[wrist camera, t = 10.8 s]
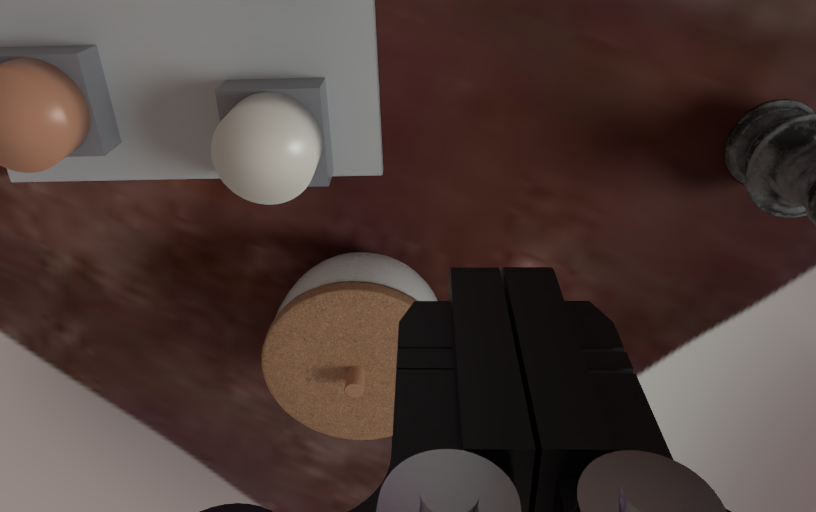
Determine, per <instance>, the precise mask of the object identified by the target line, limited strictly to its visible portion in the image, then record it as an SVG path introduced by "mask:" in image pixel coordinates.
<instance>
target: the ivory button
mask: <svg viewBox="0 0 816 512" xmlns="http://www.w3.org/2000/svg"><path fill="white" fill-rule="evenodd" d="M321 153H322V136H321V131H320V128H319V126H318V124H317V121H316V120H315V118H314V116H313V115H312V114H311V113H310V111H309V110H308V109H307V108H306V107H305V106H304V105H302V104H301V103H300V102H298V101H297V100H295V99H293V98H291V97H289V96H287V95H284V94H280V93H275V92H260V93H256V94H252V95H250V96H247V97H246V98H244V99H242V100H241V101H240V102H238V103H237V104H236V105H235V106H234V107H233V108H232V110H231V111H230V112H229V113H228V114H227V115H226V116H225V117H224V118H223V119H222V121H221V122H220V123H219V125H218V126H217V128H216V130H215V132H214V134H213V137H212V142H211V156H212V161H213V165H214V167H215V170H216V172H217V174H218V175H219V177H220V178H221V180H222V181H223V183H224V184H225V185H226V186H227V187H228V188H229V189H230V190H231V191H233V192H234V193H235V194H237V195H238V196H240V197H242V198H244V199H246V200H248V201H251V202H254V203H259V204H268V205H272V204H280V203H284V202H287V201H290V200H292V199H294V198H295V197H297V196H298V195H300V194H301V193H302V192H303V191H304V190H305V189H306V188H307V186H308V185H309V183H310V182H311V180H312V177H313V175H314V172H315V170H316V167H317V165H318V162H319V160H320V157H321Z"/></svg>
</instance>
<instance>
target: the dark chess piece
mask: <svg viewBox="0 0 816 512" xmlns="http://www.w3.org/2000/svg"><path fill="white" fill-rule="evenodd" d="M725 162H726V165H727V167H728V170H729V172H730V173H731V174H732V176H733V177H734V178H735V179H736V180H737V181H739V182H741V183H742V184H744V185H746V188H747V191H748V193H749V196H750V198H751V200H752V201H753V202H754V203H755V204H756V205H757V207H758V208H759V209H761V210H763V211H765V212H766V213H768V214H770V215H774V216H778V217H783V218H784V217H800V216H804V215H808V218H809V219H810V220H811V221H812V222H813V223H814V224H815V225H816V113H815V112H814V111H813V110H812V109H811V108H809V107H808V106H806V105H805V104H803V103H801V102H797V101H793V100H776V101H772V102H768V103H764V104H763V105H761V106H759V107H757V108H755V109H753V110H751V111H750V112H749V113H748V114H746V115H745V116H744V117H743V118H742V119H741V120H740V121H739V122H738V123H737V125H736V126H735V127H734V128H733V130H732V132H731V134H730V136H729V138H728V140H727V144H726V149H725Z"/></svg>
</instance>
